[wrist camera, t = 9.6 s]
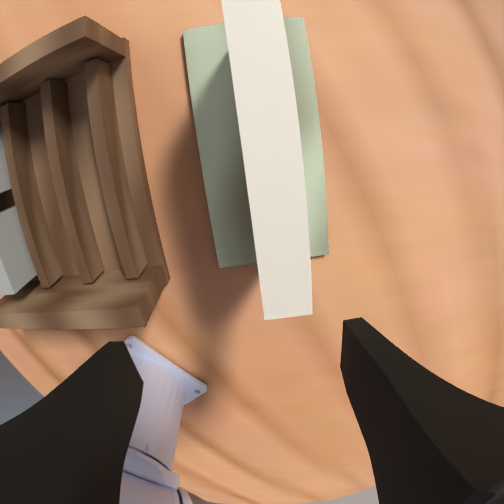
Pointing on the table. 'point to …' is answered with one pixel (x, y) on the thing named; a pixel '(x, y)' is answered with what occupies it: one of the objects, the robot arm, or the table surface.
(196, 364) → the table surface
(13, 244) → the offcut
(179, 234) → the table surface
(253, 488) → the table surface
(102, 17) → the table surface
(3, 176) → the offcut
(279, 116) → the cream rectangular slab
